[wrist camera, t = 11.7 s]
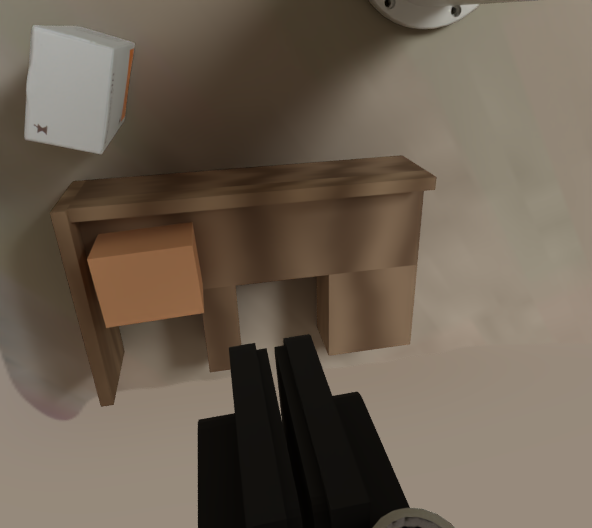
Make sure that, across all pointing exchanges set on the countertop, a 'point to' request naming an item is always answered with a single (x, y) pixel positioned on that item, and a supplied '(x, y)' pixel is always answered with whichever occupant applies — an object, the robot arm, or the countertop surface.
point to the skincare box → (76, 87)
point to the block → (147, 274)
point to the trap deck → (262, 246)
